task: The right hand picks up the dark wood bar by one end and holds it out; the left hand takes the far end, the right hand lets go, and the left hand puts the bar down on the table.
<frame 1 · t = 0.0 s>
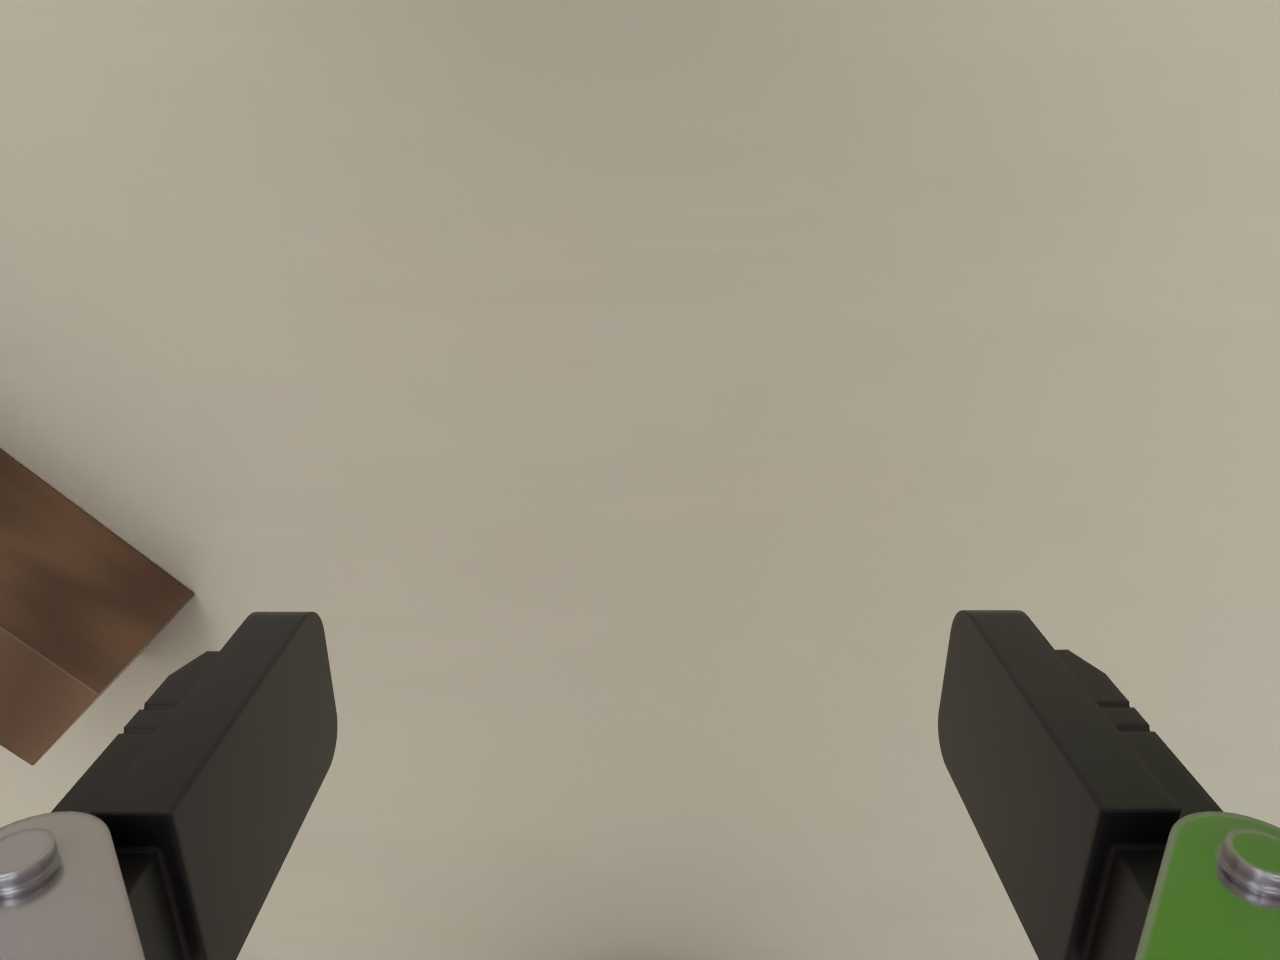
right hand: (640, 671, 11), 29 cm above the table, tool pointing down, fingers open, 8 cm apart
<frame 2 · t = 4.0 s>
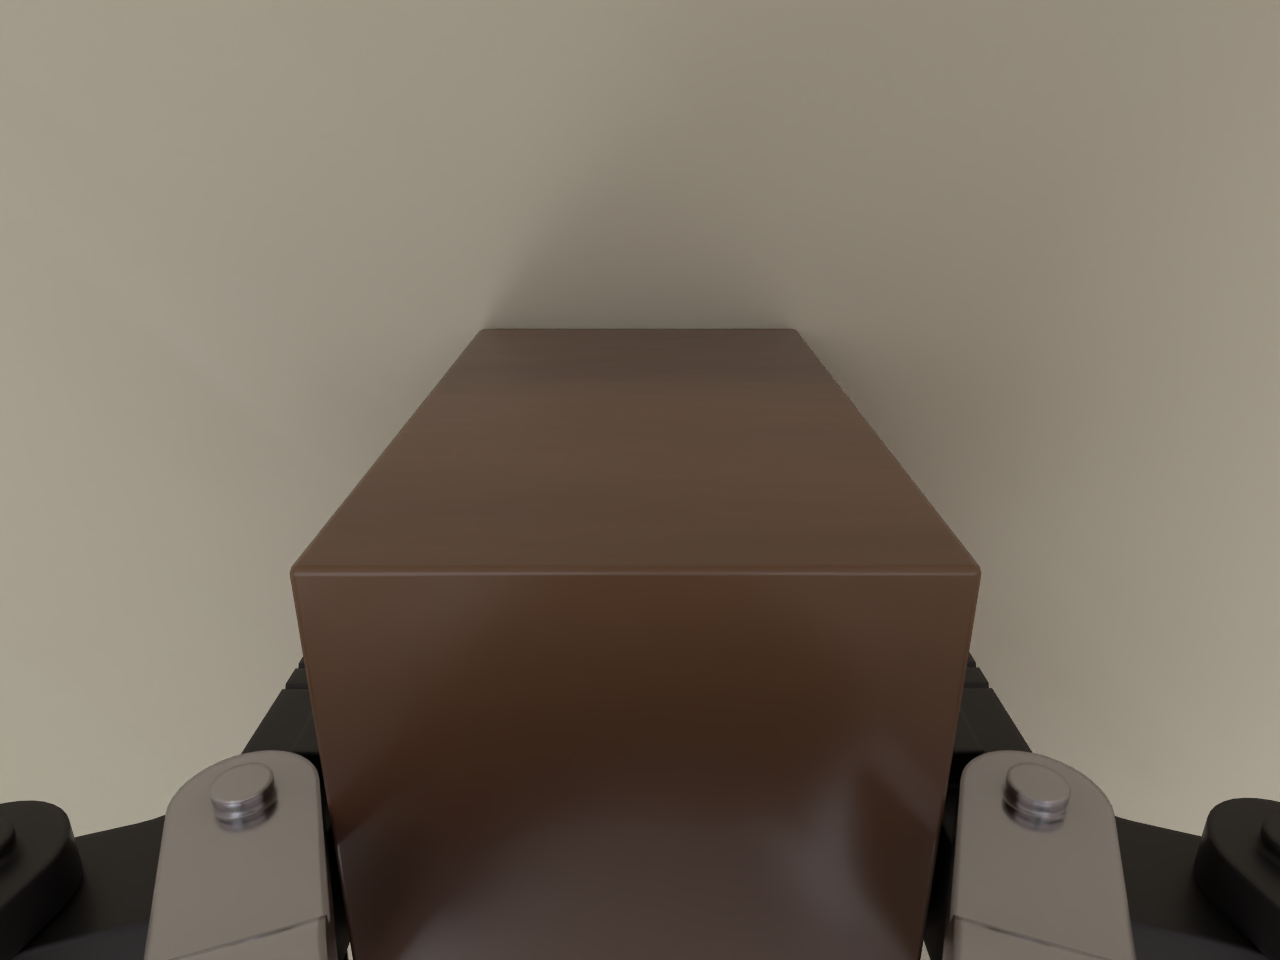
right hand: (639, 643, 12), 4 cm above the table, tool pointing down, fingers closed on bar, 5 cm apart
bar: (638, 862, 18), on the table, touching right hand
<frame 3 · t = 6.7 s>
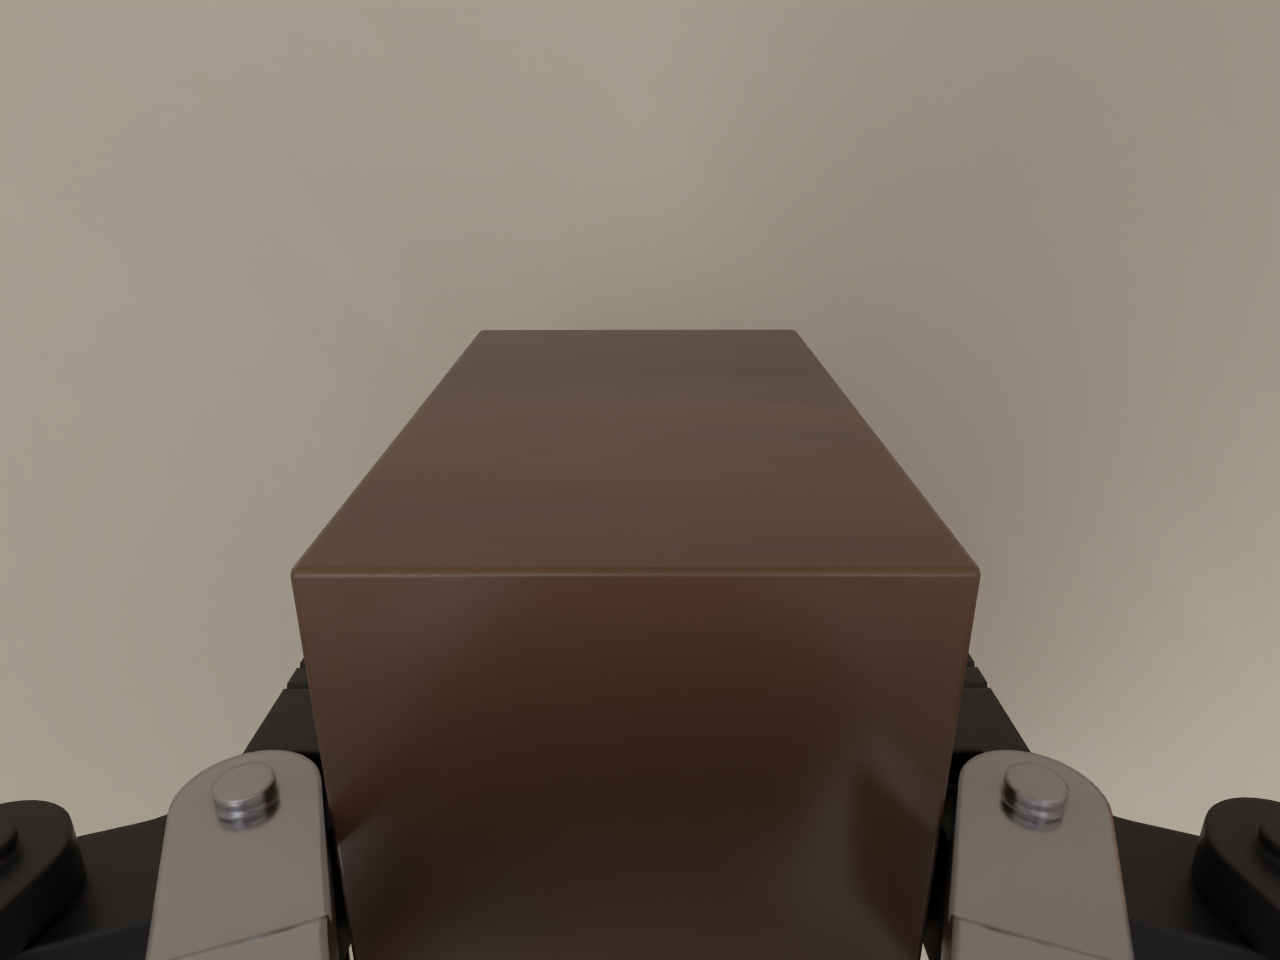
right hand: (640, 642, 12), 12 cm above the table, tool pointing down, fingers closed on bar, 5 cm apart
bar: (639, 862, 19), point 8 cm above the table, touching right hand
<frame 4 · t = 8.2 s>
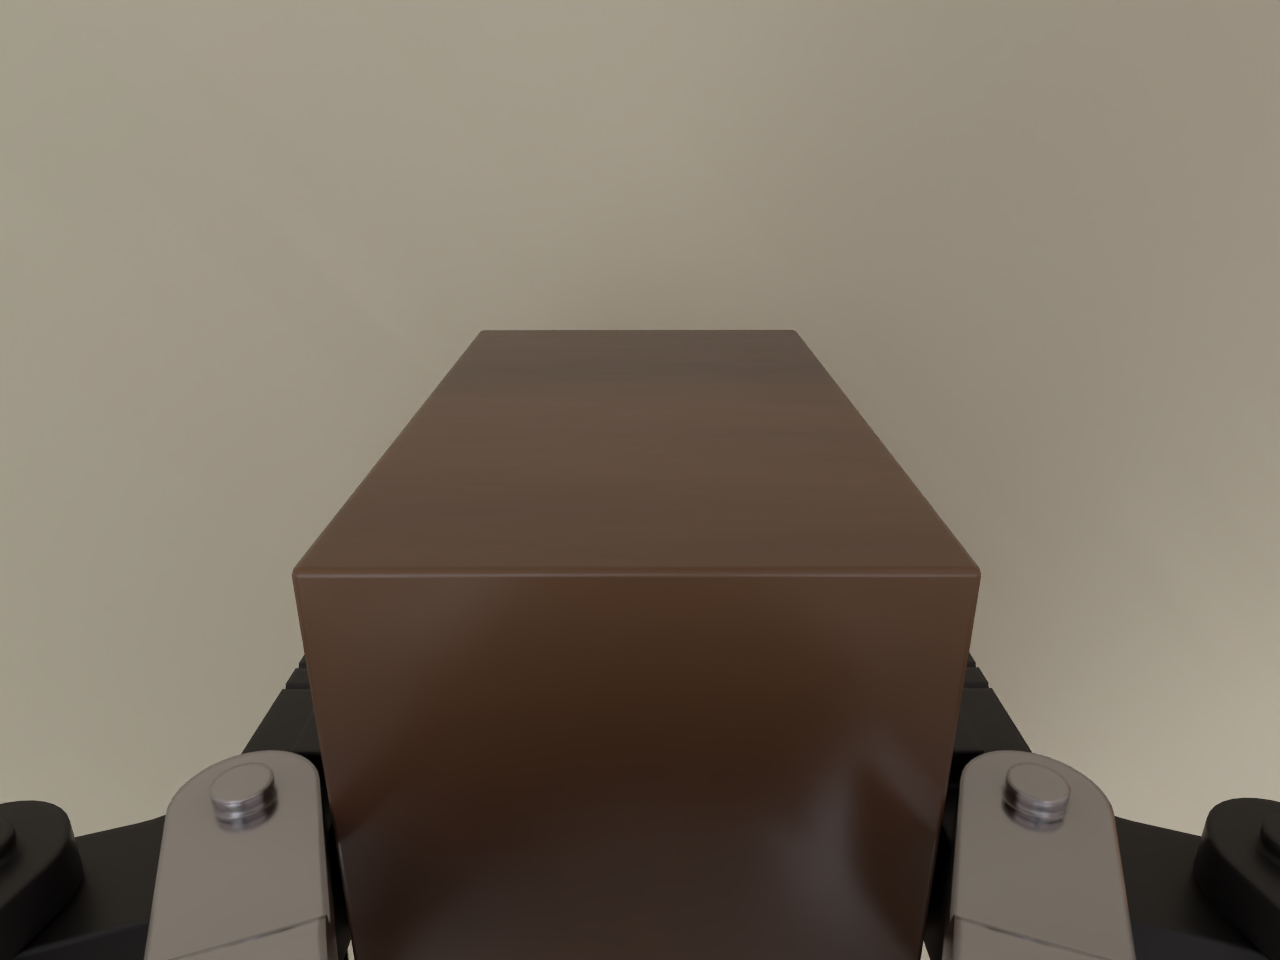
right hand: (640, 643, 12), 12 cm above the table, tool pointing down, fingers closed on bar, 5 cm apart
bar: (639, 862, 19), point 8 cm above the table, touching right hand, left hand
when the right hand's fingers open (12 cm above the table, at t = 9.4 s): bar stays where it is, held by the left hand.
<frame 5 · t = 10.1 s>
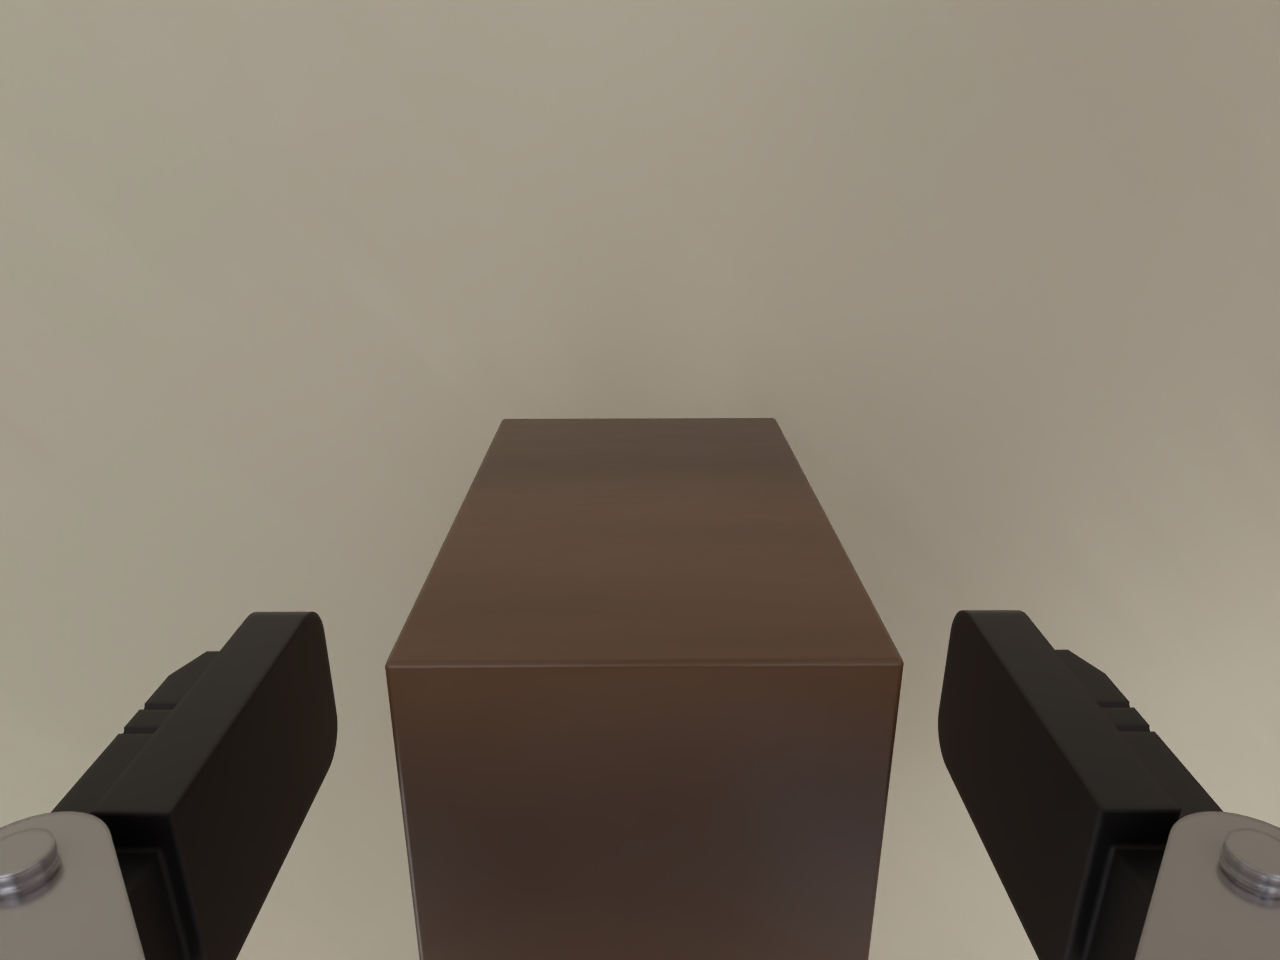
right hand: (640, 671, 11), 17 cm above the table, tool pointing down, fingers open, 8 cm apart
bar: (639, 882, 21), point 10 cm above the table, touching left hand
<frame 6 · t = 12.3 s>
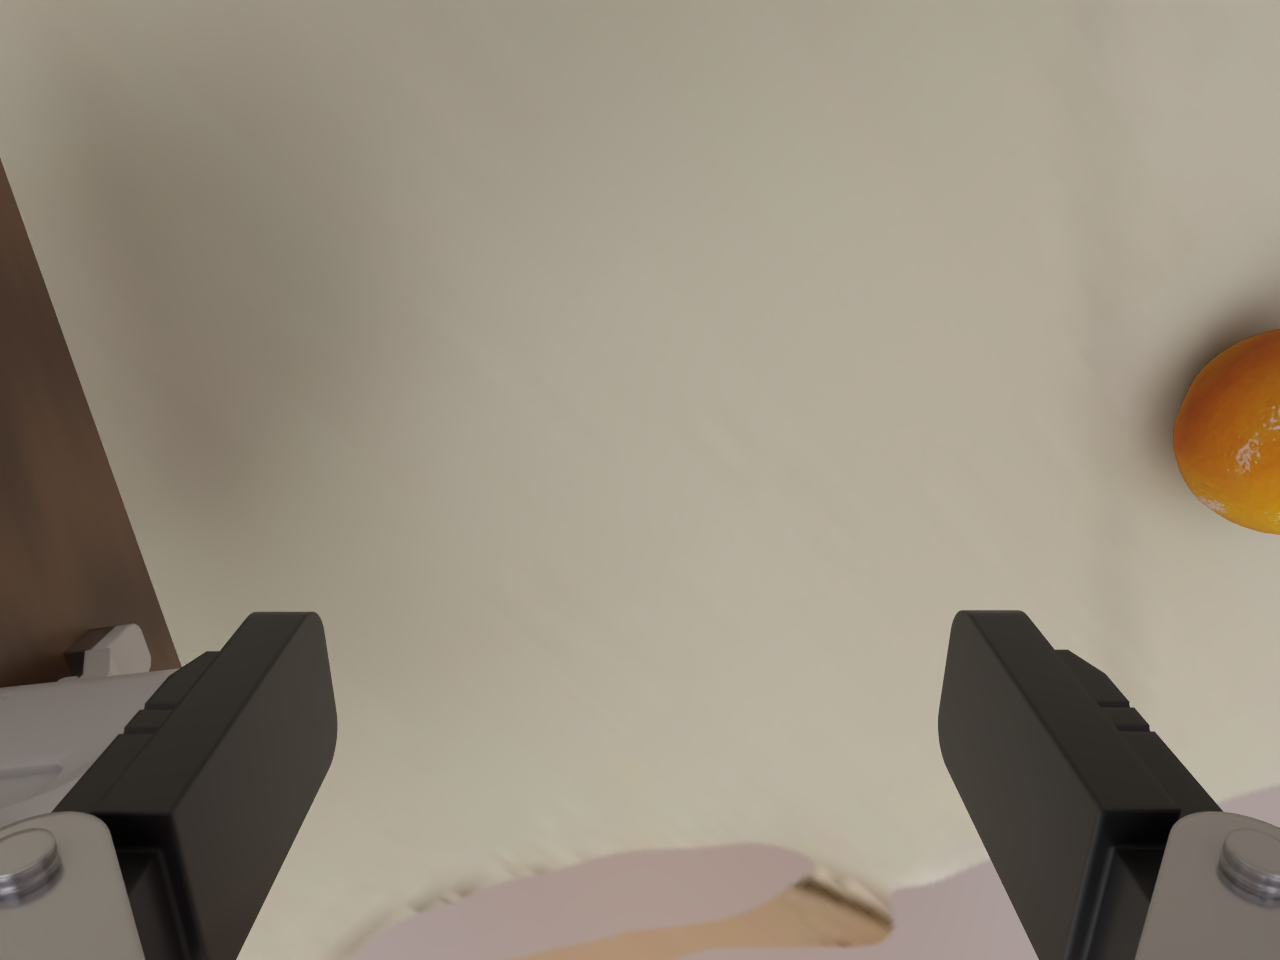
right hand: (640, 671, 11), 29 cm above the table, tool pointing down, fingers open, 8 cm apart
bar: (4, 390, 29), point 11 cm above the table, touching left hand
fruit: (1238, 405, 40), on the table
when the left hand's fingers open (4 cm above the table, at t = 16.4 s): bar stays where it is, on the table.
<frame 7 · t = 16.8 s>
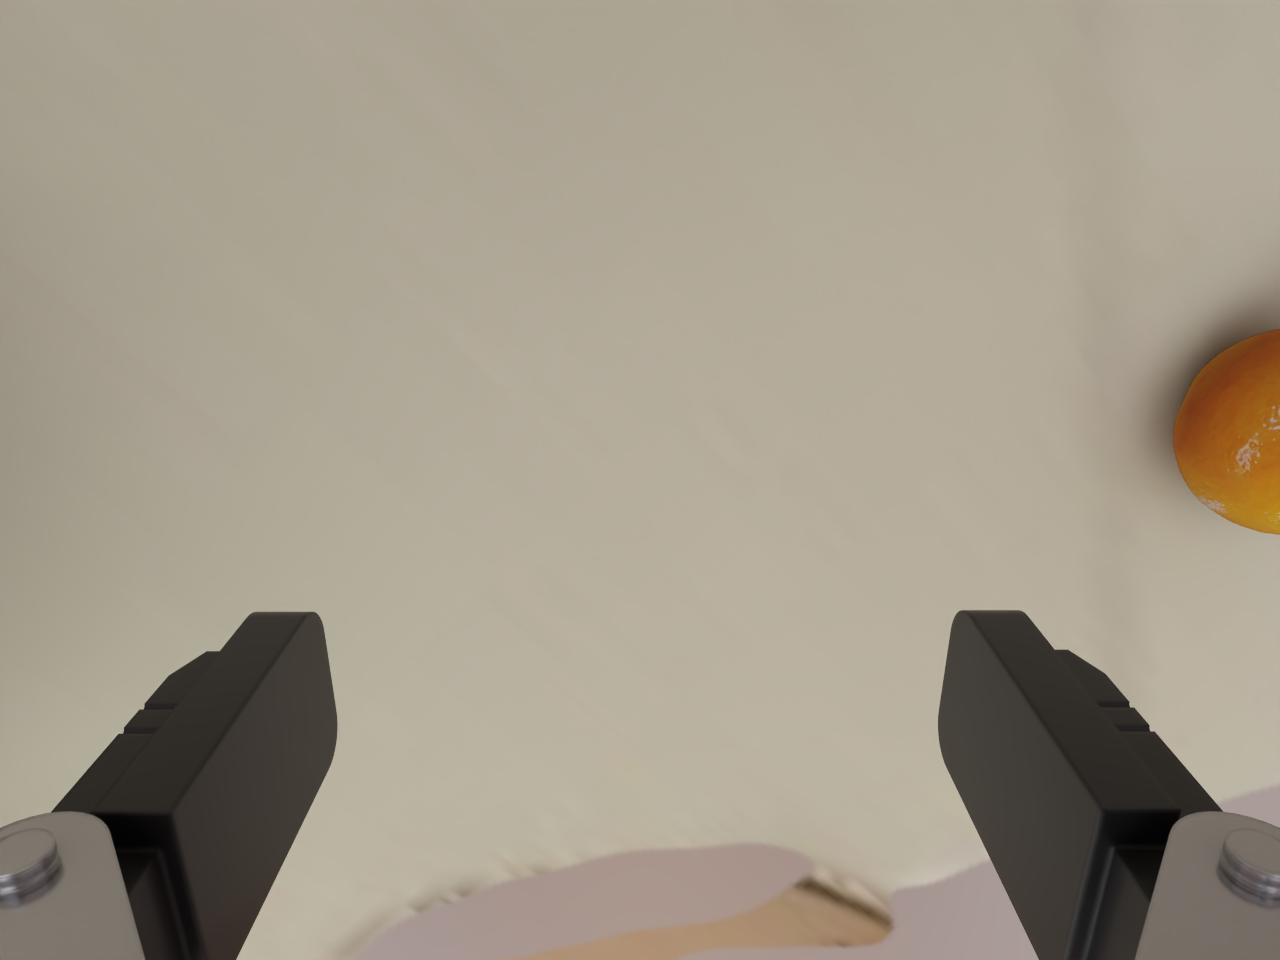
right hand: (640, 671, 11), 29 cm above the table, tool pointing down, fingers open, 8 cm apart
fruit: (1238, 405, 40), on the table
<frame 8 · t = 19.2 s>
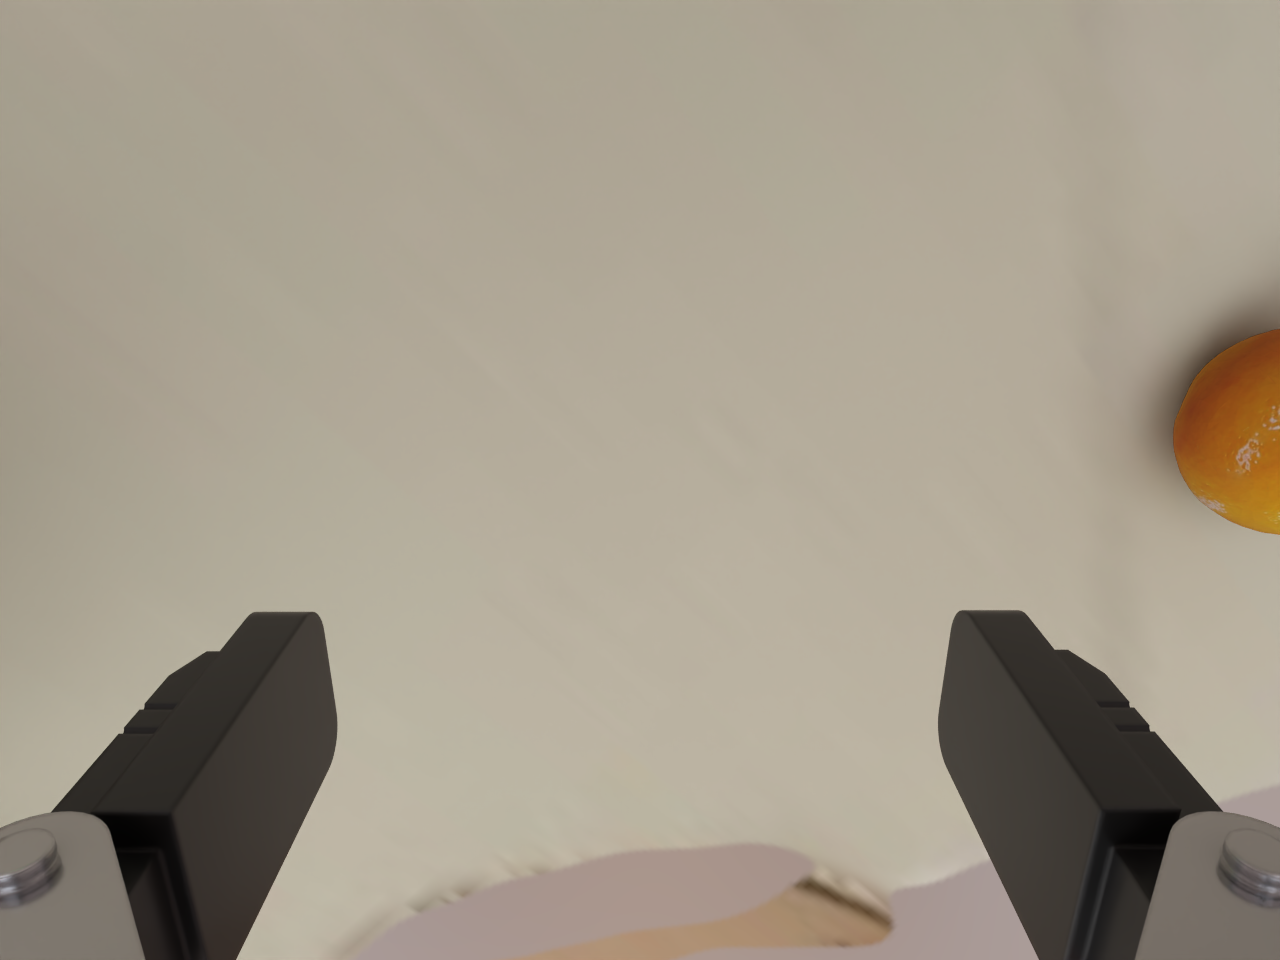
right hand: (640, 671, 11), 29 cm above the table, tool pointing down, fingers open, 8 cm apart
fruit: (1238, 405, 40), on the table
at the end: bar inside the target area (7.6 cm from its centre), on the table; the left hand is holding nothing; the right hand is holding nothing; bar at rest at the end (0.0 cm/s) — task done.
